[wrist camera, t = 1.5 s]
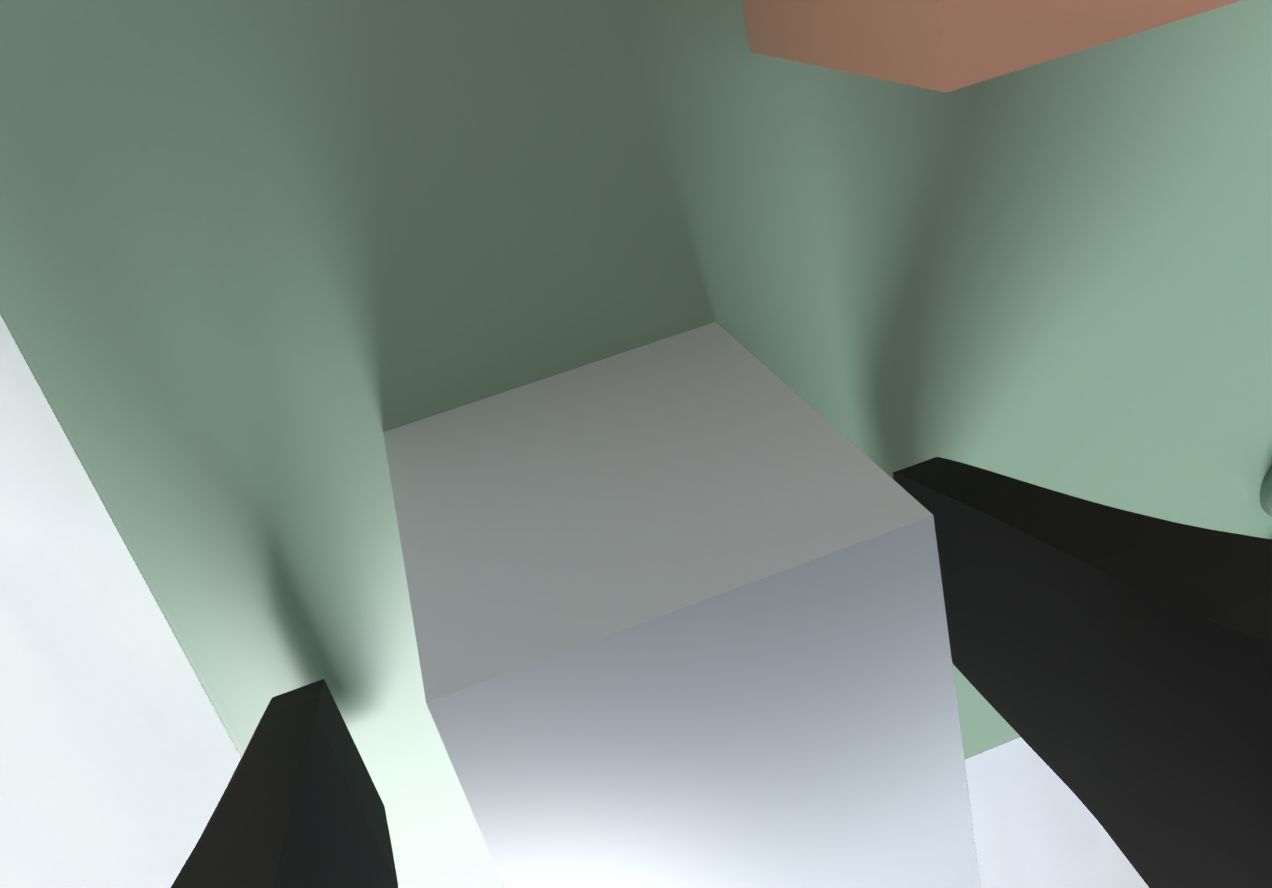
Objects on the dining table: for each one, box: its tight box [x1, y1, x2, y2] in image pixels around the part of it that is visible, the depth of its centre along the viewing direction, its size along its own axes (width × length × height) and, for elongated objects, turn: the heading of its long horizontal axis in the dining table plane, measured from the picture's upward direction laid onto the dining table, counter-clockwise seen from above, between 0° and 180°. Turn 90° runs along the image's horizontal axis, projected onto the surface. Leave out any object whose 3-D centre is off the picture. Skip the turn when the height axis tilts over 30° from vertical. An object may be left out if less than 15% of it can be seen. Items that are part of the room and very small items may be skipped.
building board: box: [0, 0, 1272, 888], centre depth 12 cm, size 18×20×2 cm
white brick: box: [383, 322, 981, 888], centre depth 12 cm, size 4×6×5 cm, turn 14°
